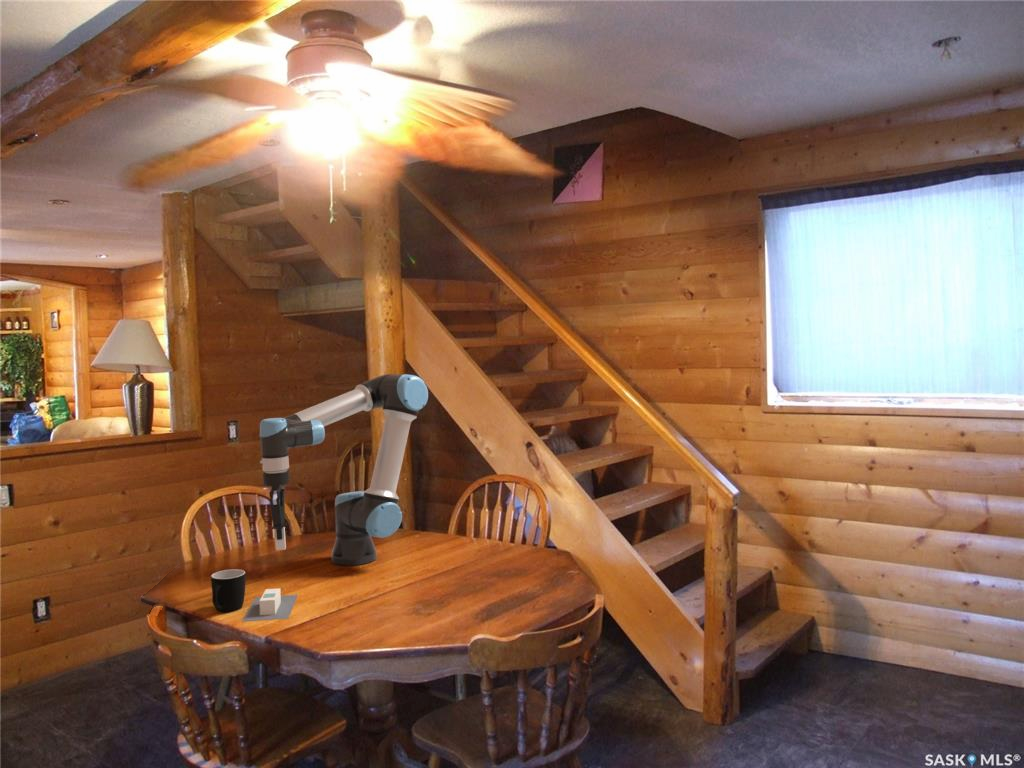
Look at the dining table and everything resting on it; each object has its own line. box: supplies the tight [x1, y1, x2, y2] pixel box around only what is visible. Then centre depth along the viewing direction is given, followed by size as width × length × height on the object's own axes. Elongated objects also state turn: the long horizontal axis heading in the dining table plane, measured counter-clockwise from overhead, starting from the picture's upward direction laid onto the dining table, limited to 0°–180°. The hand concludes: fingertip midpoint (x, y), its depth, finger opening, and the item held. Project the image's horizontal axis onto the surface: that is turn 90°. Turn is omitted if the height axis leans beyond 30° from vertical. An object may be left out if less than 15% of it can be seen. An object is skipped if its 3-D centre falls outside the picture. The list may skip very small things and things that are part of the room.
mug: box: [210, 568, 246, 613], centre depth 214 cm, size 12×9×10 cm
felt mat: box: [241, 594, 299, 623], centre depth 216 cm, size 12×20×1 cm, turn 8°
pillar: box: [260, 588, 282, 615], centre depth 215 cm, size 4×4×10 cm
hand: (280, 549), depth 230 cm, fingers closed
